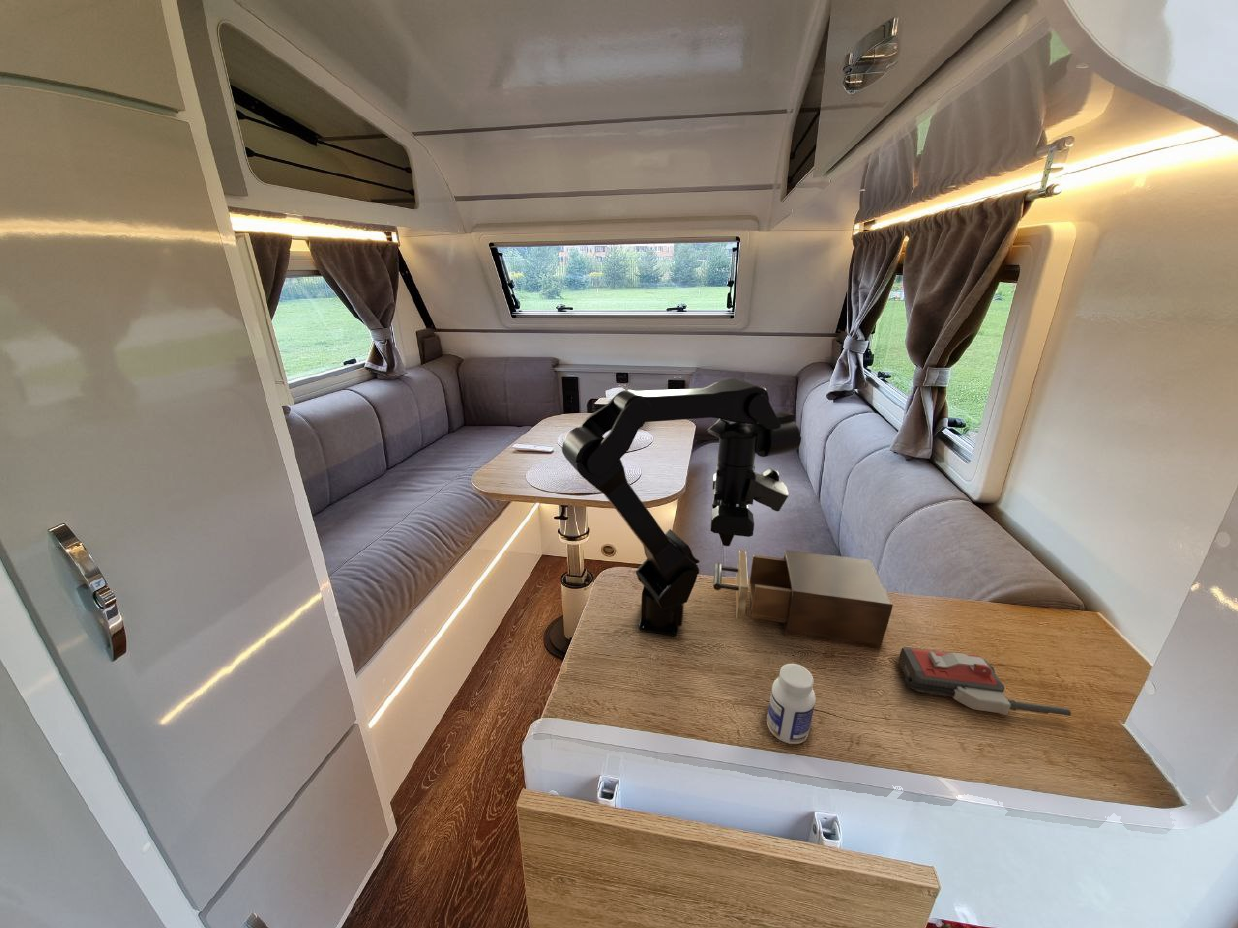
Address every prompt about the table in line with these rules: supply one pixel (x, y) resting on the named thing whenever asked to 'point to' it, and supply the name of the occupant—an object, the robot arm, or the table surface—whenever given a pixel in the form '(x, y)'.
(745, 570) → the drawer
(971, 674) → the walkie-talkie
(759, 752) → the table surface
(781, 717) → the pill bottle
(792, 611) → the cabinet
